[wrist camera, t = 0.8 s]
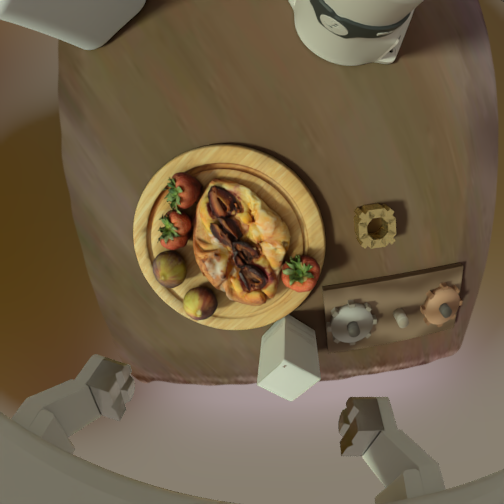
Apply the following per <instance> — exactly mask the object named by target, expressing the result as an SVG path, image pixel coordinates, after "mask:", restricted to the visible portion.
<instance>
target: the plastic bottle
mask: <svg viewBox="0 0 504 504" xmlns="http://www.w3.org/2000/svg"><path fill="white" fill-rule="evenodd" d="M145 2H146V0H0V19H1V20H4V21H8V22H11V23H15V24H17V25H21V26H24V27H27V28H30V29H33V30H35V31H38V32H42V33H44V34H47V35H50V36H52V37H55V38H57V39H60V40H63V41H65V42H68V43H70V44H73V45H75V46H77V47H80V48H82V49H85V50H93V49H96V48H99V47H101V46H102V45H104V44H105V43H106V42H107V41H108V40H109V39H110V38H111V37H112V36H113V35H114V34H115V33H116V32H118V31H119V30H120V29H121V28H122V27H123V26H124V25H125V24H126V23H127V22H128V21H130V20H131V19H132V18H133V17H134V16H135V15H136V14H137V13H138V12H139V11H140V10H141V9H142V8H143V6H144V4H145Z"/></svg>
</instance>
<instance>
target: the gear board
mask: <svg viewBox="0 0 504 504" xmlns="http://www.w3.org/2000/svg"><path fill="white" fill-rule="evenodd" d="M462 274H463V265H462V264H461V263H455V264H450V265H445V266H440V267H435V268H429V269H424V270H419V271H413V272H408V273H402V274H397V275H391V276H385V277H379V278H373V279H367V280H361V281H355V282H349V283H342V284H336V285H329V286H322V289H323V299H324V310H325V322H326V334H327V348H328V354H329V353H336V352H342V351H349V350H355V349H361V348H366V347H372V346H377V345H382V344H387V343H392V342H397V341H402V340H406V339H411V338H415V337H419V336H424V335H428V334H432V333H436V332H440V331H443V330H447V329H451V328H454V324H455V319H456V313H457V310H458V307H459V306H460V305H462V299H461V298H460V297H459V296H460V289H461V282H462Z"/></svg>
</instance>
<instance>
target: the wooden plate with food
mask: <svg viewBox="0 0 504 504" xmlns="http://www.w3.org/2000/svg"><path fill="white" fill-rule="evenodd" d="M133 241H134V248H135V252H136V256H137V259H138V263H139V265H140V268H141V270H142V272H143V274H144V276H145V278H146V279H147V281H148V282H149V284H150V285H151V287H152V288H153V289H154V291H155V292H156V293H157V294H158V295H159V297H160V298H161V299H162V300H163V301H164V302H166V303H167V304H168V305H169V306H170V307H172V308H173V309H174V310H176V311H177V312H179V313H180V314H182V315H183V316H185V317H187V318H189V319H191V320H193V321H195V322H198V323H200V324H203V325H206V326H210V327H214V328H218V329H224V330H246V329H253V328H258V327H262V326H265V325H268V324H271V323H274V322H276V321H278V320H280V319H282V318H283V317H285V316H287V315H288V314H290V313H291V312H292V311H293V310H295V309H296V308H297V307H298V306H299V305H300V304H301V303H302V302H303V301H304V300H305V299H306V298H307V297H308V295H309V294H310V292H311V291H312V289H313V288H314V287H315V285H316V283H317V280H318V278H319V276H320V273H321V270H322V267H323V263H324V258H325V250H326V237H325V228H324V223H323V219H322V215H321V212H320V210H319V207H318V204H317V202H316V200H315V199H314V197H313V195H312V193H311V192H310V190H309V189H308V187H307V186H306V185H305V183H304V182H303V181H302V179H301V178H300V177H299V176H298V175H297V174H296V173H295V172H294V171H293V170H291V169H290V168H289V167H288V166H287V165H285V164H284V163H283V162H281V161H280V160H278V159H276V158H274V157H273V156H271V155H269V154H267V153H264V152H262V151H259V150H256V149H253V148H250V147H246V146H242V145H234V144H215V145H207V146H203V147H199V148H195V149H192V150H189V151H186V152H184V153H182V154H180V155H178V156H177V157H175V158H173V159H172V160H171V161H169V162H168V163H167V164H165V165H164V166H163V167H162V168H161V169H160V170H159V171H158V172H157V173H156V174H155V175H154V176H153V177H152V178H151V180H150V181H149V183H148V184H147V186H146V187H145V189H144V191H143V193H142V195H141V197H140V200H139V202H138V205H137V208H136V212H135V217H134V224H133Z"/></svg>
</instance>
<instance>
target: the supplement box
mask: <svg viewBox="0 0 504 504" xmlns="http://www.w3.org/2000/svg"><path fill="white" fill-rule="evenodd" d="M319 380H321V376H320V368H319V359H318V351H317V343H316V335H315V330H313V329H311V328H310V327H308V326H307V325H305V324H303V323H302V322H300V321H299V320H297V319H295V318H294V317H292V316H291V315H289V314H288V315H287V316H285V317H283V318H282V319H280V320H278V321H276V322H275V324H274V325H273V326H272V327H271V328H270V329H269V330H268V331H267V332H266V333H265V334H264V335H263V336H262V342H261V352H260V361H259V370H258V379H257V385H258V386H260V387H262V388H264V389H266V390H268V391H270V392H272V393H274V394H276V395H278V396H281V397H282V398H285V399H287V400H289V401H293V400H294V399H296V398H297V397H298V396H300V395H301V394H302V393H304V392H305V391H306V390H308V389H309V388H310V387H311V386H313V385H314V384H315V383H317V382H318V381H319Z"/></svg>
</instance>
